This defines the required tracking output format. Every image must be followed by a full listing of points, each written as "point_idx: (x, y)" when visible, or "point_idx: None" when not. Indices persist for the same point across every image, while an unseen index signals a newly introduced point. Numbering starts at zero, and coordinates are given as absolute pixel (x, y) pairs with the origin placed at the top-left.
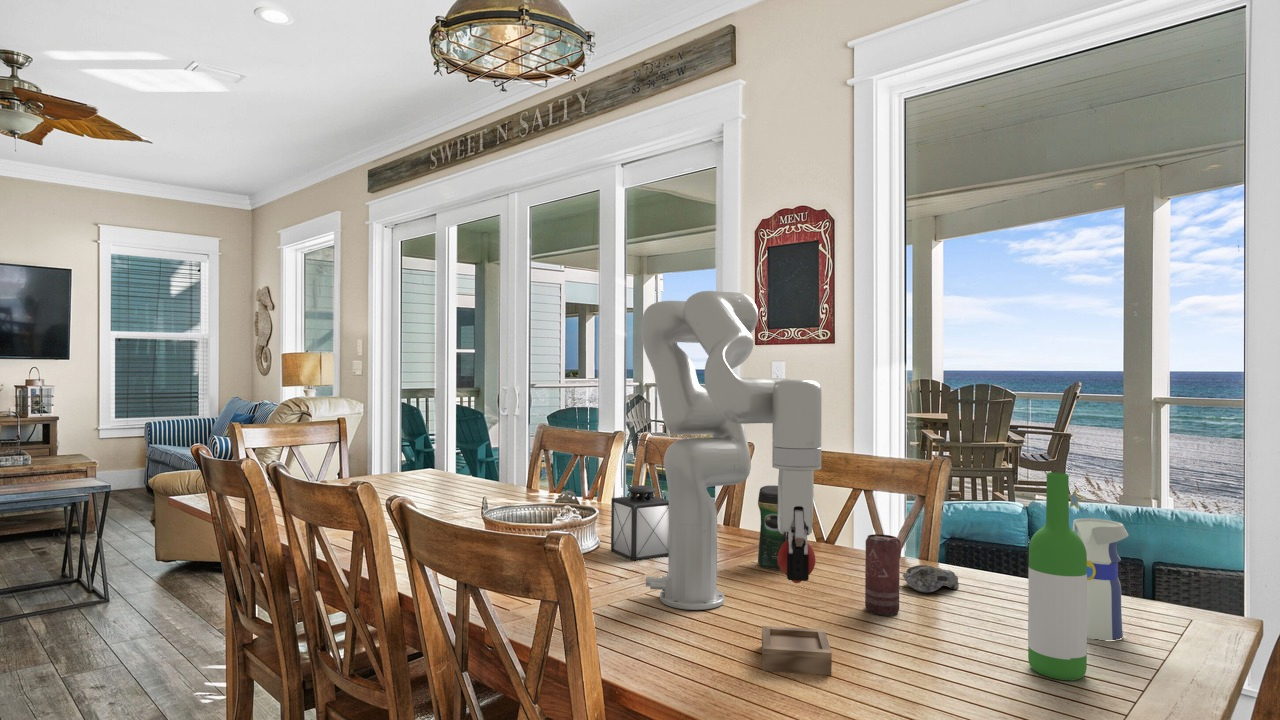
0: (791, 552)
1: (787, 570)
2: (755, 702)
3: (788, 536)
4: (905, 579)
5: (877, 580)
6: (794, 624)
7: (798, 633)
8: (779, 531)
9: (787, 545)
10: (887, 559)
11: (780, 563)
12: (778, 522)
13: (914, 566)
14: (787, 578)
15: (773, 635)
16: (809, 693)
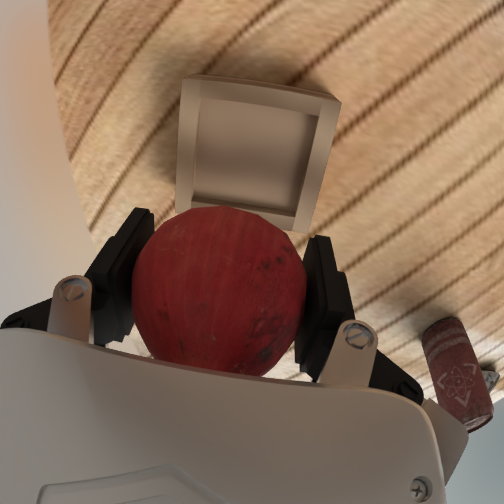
0: (62, 289)
1: (124, 225)
2: (70, 60)
3: (328, 356)
4: (490, 373)
5: (445, 366)
6: (439, 199)
7: (303, 177)
8: (17, 332)
9: (159, 309)
10: (443, 405)
11: (181, 217)
12: (98, 405)
13: (489, 392)
14: (134, 208)
15: (307, 120)
16: (111, 144)
